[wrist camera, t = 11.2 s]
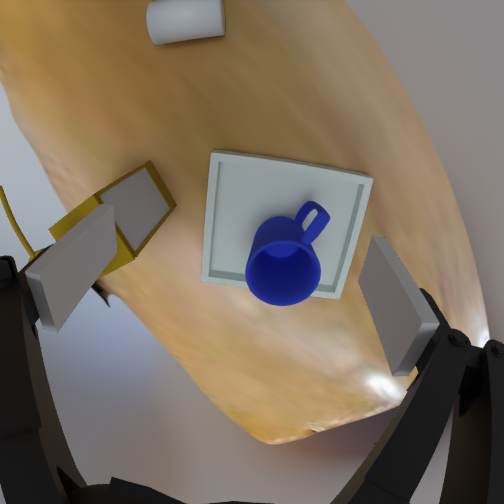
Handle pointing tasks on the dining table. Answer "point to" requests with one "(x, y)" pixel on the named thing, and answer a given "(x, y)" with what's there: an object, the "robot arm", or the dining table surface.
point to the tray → (279, 213)
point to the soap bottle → (118, 213)
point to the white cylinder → (184, 20)
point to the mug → (286, 258)
